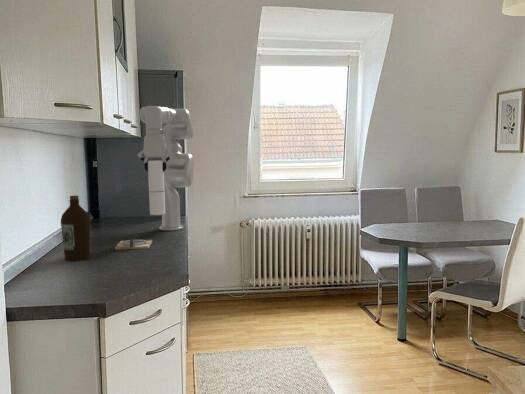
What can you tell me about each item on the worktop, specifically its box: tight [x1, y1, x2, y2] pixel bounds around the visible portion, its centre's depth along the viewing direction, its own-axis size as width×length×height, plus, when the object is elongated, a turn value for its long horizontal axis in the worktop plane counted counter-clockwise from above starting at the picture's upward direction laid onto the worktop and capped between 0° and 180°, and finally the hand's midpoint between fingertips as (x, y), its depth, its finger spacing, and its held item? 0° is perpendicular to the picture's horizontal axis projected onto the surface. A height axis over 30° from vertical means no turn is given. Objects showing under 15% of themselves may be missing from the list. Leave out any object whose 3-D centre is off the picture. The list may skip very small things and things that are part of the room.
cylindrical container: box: [147, 160, 165, 216], centre depth 218 cm, size 7×7×25 cm
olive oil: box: [60, 195, 91, 262], centre depth 183 cm, size 11×11×25 cm
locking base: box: [114, 233, 153, 251], centre depth 206 cm, size 14×14×4 cm
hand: (155, 170), depth 217 cm, fingers closed on cylindrical container, 7 cm apart
